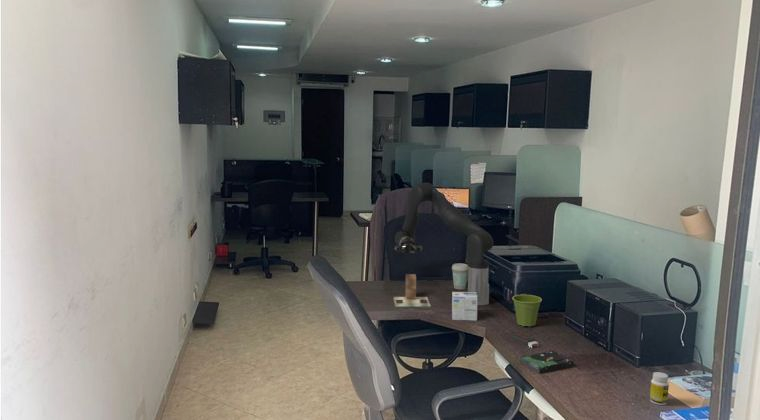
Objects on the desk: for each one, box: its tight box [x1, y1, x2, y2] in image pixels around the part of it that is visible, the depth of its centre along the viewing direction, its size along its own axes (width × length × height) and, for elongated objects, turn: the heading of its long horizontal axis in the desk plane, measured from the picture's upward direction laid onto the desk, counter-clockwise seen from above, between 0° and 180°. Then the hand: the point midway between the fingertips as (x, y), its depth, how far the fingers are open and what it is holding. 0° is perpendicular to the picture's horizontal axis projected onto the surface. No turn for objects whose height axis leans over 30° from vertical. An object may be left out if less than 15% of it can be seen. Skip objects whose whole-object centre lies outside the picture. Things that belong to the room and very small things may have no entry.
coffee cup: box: [451, 262, 469, 290], centre depth 293 cm, size 8×9×12 cm
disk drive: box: [519, 350, 574, 375], centre depth 197 cm, size 10×3×15 cm
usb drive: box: [508, 331, 540, 349], centre depth 218 cm, size 5×12×3 cm, turn 28°
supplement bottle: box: [649, 371, 670, 406], centre depth 170 cm, size 5×5×8 cm
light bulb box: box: [451, 291, 478, 322], centre depth 245 cm, size 11×7×11 cm, turn 84°
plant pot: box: [511, 294, 543, 327], centre depth 237 cm, size 12×12×11 cm
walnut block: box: [404, 273, 417, 300], centre depth 269 cm, size 4×4×11 cm
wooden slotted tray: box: [392, 296, 431, 307], centre depth 265 cm, size 16×15×2 cm
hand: (409, 251), depth 275 cm, fingers open, 4 cm apart
